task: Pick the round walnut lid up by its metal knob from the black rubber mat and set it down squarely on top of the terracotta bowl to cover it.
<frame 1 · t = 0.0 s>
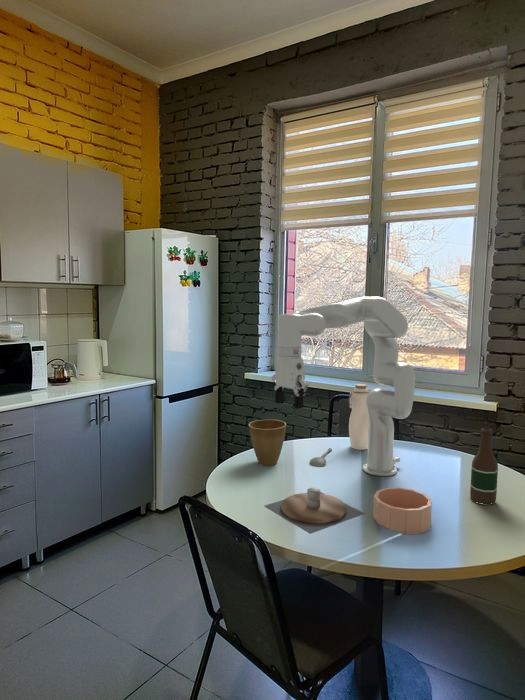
hand: (288, 405, 155), 31 cm above the table, tool pointing down, fingers open, 9 cm apart
water bottle: (358, 447, 213), on the table
lid: (313, 509, 148), point 1 cm above the table, touching mat
beer bottle: (482, 501, 157), on the table
soupspoon: (323, 460, 198), on the table
mat: (313, 511, 149), on the table
plant pot: (267, 463, 192), on the table
bowl: (401, 520, 142), on the table
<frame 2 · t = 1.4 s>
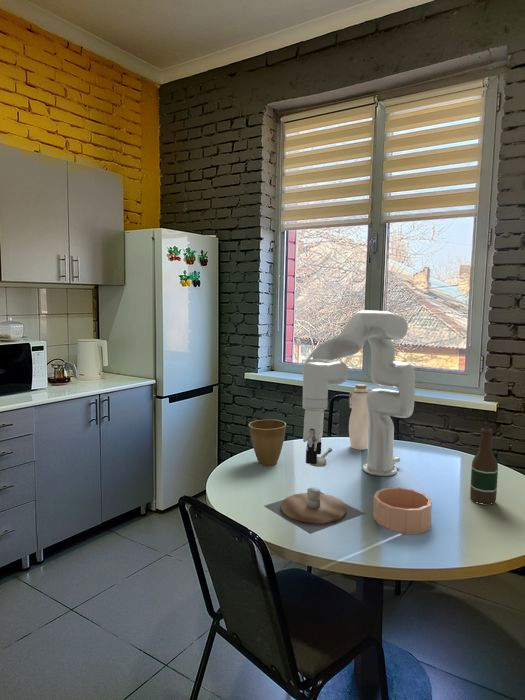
hand: (313, 458, 146), 17 cm above the table, tool pointing down, fingers open, 9 cm apart
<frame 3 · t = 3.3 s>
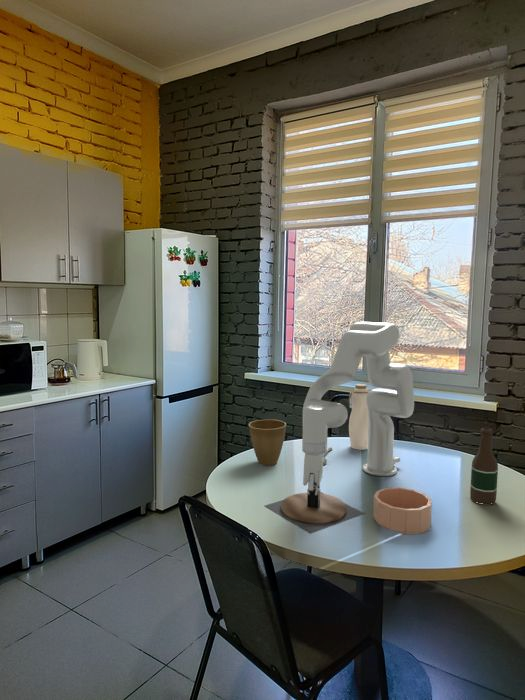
hand: (313, 503, 148), 2 cm above the table, tool pointing down, fingers closed on lid, 4 cm apart
lid: (313, 509, 148), point 1 cm above the table, touching gripper, mat
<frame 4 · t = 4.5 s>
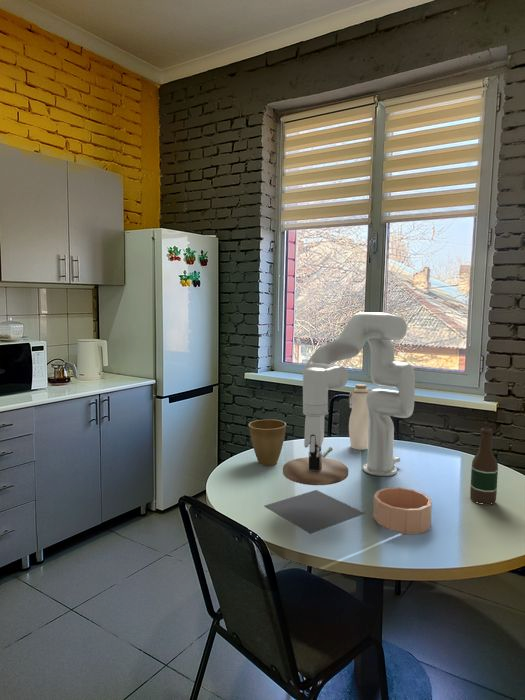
hand: (315, 466, 148), 14 cm above the table, tool pointing down, fingers closed on lid, 4 cm apart
lid: (315, 472, 148), point 12 cm above the table, touching gripper
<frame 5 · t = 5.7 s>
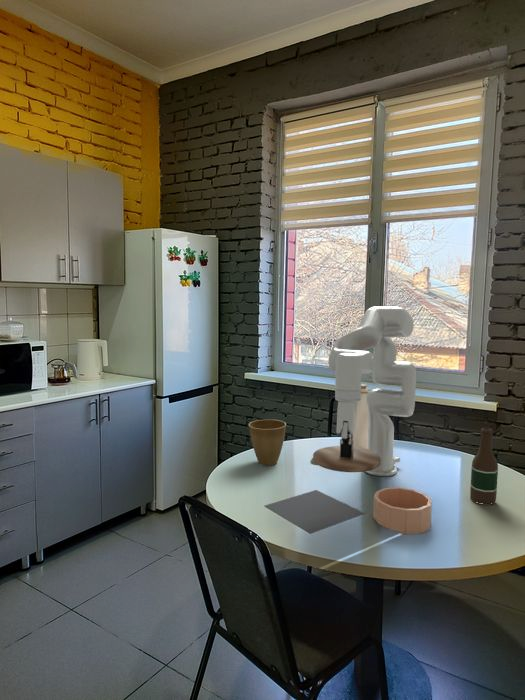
hand: (346, 454, 144), 19 cm above the table, tool pointing down, fingers closed on lid, 4 cm apart
lid: (346, 460, 145), point 17 cm above the table, touching gripper
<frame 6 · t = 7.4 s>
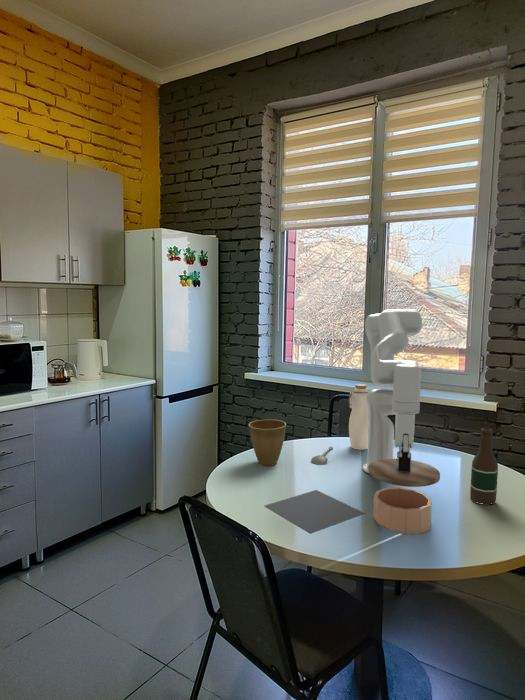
hand: (403, 467, 140), 16 cm above the table, tool pointing down, fingers closed on lid, 4 cm apart
lid: (403, 473, 141), point 14 cm above the table, touching gripper
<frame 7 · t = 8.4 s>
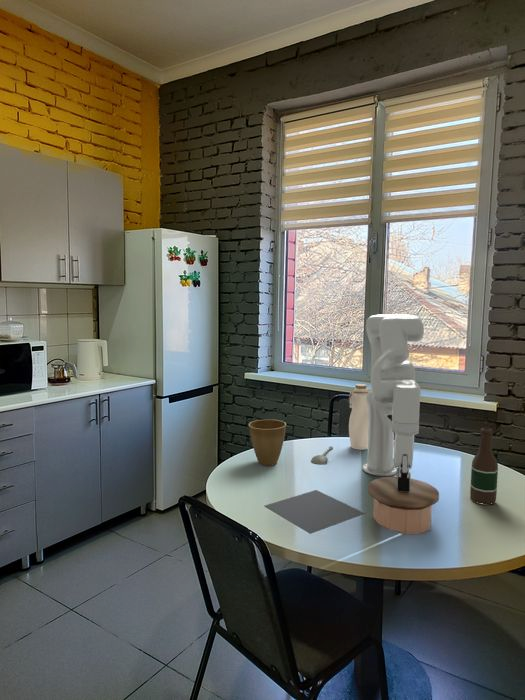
hand: (403, 487, 141), 10 cm above the table, tool pointing down, fingers closed on lid, 4 cm apart
lid: (402, 493, 141), point 8 cm above the table, touching gripper
when the fingers open (10 cm above the table, at t = 9.1 s): lid drops 1 cm, resting on bowl.
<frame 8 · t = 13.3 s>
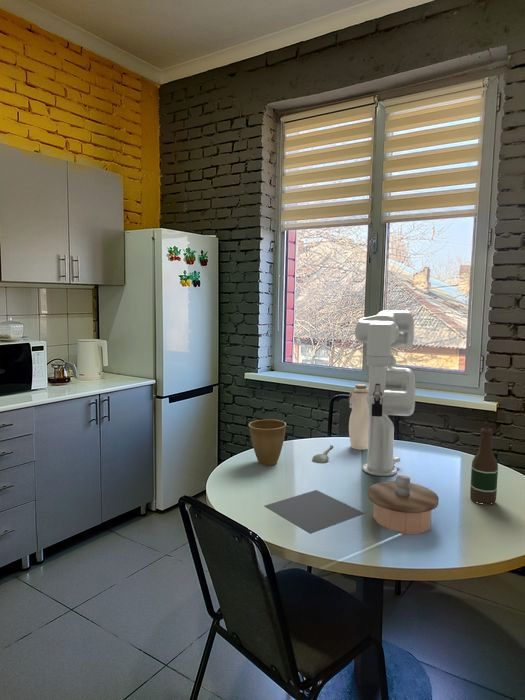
hand: (377, 412, 157), 28 cm above the table, tool pointing down, fingers open, 9 cm apart
lid: (402, 498, 142), point 7 cm above the table, touching bowl
soupspoon: (325, 456, 202), on the table
everything else where it was.
at the end: lid 0.1 cm off-centre on the bowl, point 7.0 cm above the bowl's base; lid tilted 0°; the gripper is holding nothing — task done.
